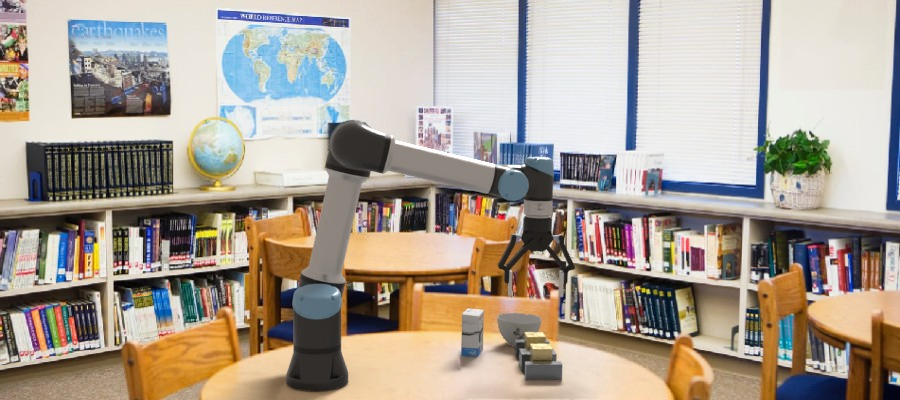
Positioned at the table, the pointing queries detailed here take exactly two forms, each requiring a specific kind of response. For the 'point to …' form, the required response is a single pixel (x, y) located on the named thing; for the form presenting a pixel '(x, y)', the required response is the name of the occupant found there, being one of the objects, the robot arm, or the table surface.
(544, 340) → the tan square-edged block
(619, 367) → the table surface
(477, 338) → the ink box
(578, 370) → the table surface
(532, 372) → the rail
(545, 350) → the wooden cube
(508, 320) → the teacup
